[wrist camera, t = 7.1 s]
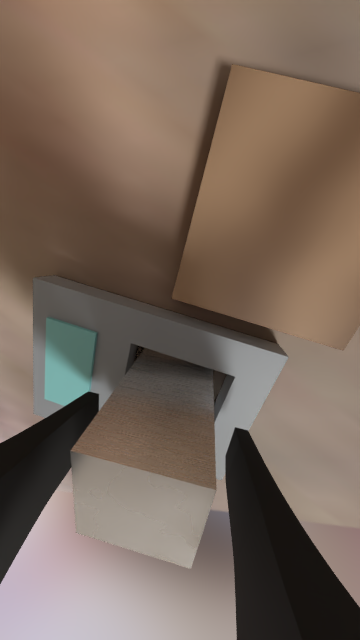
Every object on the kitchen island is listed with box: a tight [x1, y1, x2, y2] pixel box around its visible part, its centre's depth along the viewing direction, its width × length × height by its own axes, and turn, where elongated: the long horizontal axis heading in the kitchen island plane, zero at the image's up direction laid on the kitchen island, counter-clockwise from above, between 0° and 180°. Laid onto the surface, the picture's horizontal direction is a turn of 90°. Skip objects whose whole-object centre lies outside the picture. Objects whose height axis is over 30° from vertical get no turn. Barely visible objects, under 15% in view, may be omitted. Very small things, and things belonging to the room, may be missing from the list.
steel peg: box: [70, 348, 216, 569], centre depth 9 cm, size 4×4×7 cm
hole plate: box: [33, 275, 288, 480], centre depth 12 cm, size 14×10×2 cm
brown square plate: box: [171, 64, 360, 350], centre depth 9 cm, size 9×9×1 cm
